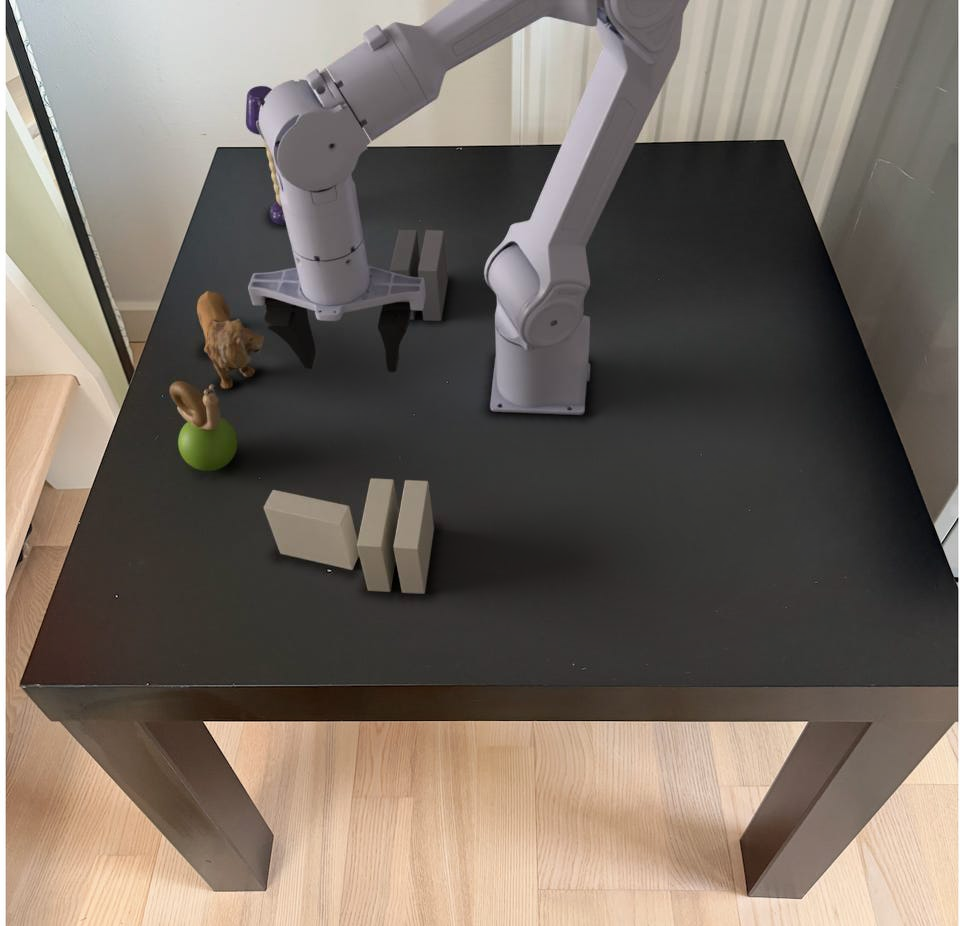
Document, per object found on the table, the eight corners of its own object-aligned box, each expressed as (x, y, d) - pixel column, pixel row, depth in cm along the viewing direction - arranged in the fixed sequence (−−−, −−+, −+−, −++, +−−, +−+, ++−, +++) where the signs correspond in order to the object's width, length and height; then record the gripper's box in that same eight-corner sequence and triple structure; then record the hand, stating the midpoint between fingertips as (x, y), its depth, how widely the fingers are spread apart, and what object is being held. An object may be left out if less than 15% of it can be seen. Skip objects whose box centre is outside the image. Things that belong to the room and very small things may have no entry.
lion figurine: (282, 390, 95) (263, 325, 88) (235, 411, 93) (212, 347, 86) (226, 313, 103) (205, 248, 96) (182, 332, 101) (157, 267, 94)
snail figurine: (224, 494, 86) (189, 408, 77) (175, 468, 88) (135, 381, 79) (262, 456, 89) (232, 369, 80) (213, 432, 91) (179, 344, 82)
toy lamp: (314, 212, 114) (288, 86, 101) (290, 232, 112) (261, 105, 99) (285, 201, 116) (256, 76, 103) (261, 220, 114) (228, 94, 101)
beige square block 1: (401, 526, 83) (393, 479, 78) (390, 592, 79) (381, 546, 73) (380, 525, 83) (370, 478, 78) (367, 590, 79) (356, 545, 73)
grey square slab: (422, 279, 105) (417, 229, 100) (414, 320, 101) (408, 270, 96) (405, 279, 105) (399, 229, 100) (396, 319, 101) (389, 269, 96)
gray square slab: (447, 280, 105) (444, 230, 100) (441, 321, 101) (436, 270, 95) (430, 280, 105) (426, 229, 100) (423, 320, 101) (417, 270, 95)
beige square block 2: (434, 528, 83) (428, 480, 77) (424, 594, 78) (417, 548, 73) (412, 527, 83) (405, 479, 78) (401, 592, 79) (393, 547, 73)
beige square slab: (289, 536, 83) (272, 489, 77) (360, 552, 81) (349, 505, 76) (280, 553, 82) (263, 507, 76) (352, 570, 80) (340, 524, 75)
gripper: (224, 268, 70) (263, 391, 80) (411, 273, 68) (425, 397, 79) (247, 213, 74) (280, 336, 85) (422, 217, 73) (435, 342, 83)
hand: (351, 362), depth 82 cm, fingers open, 7 cm apart
